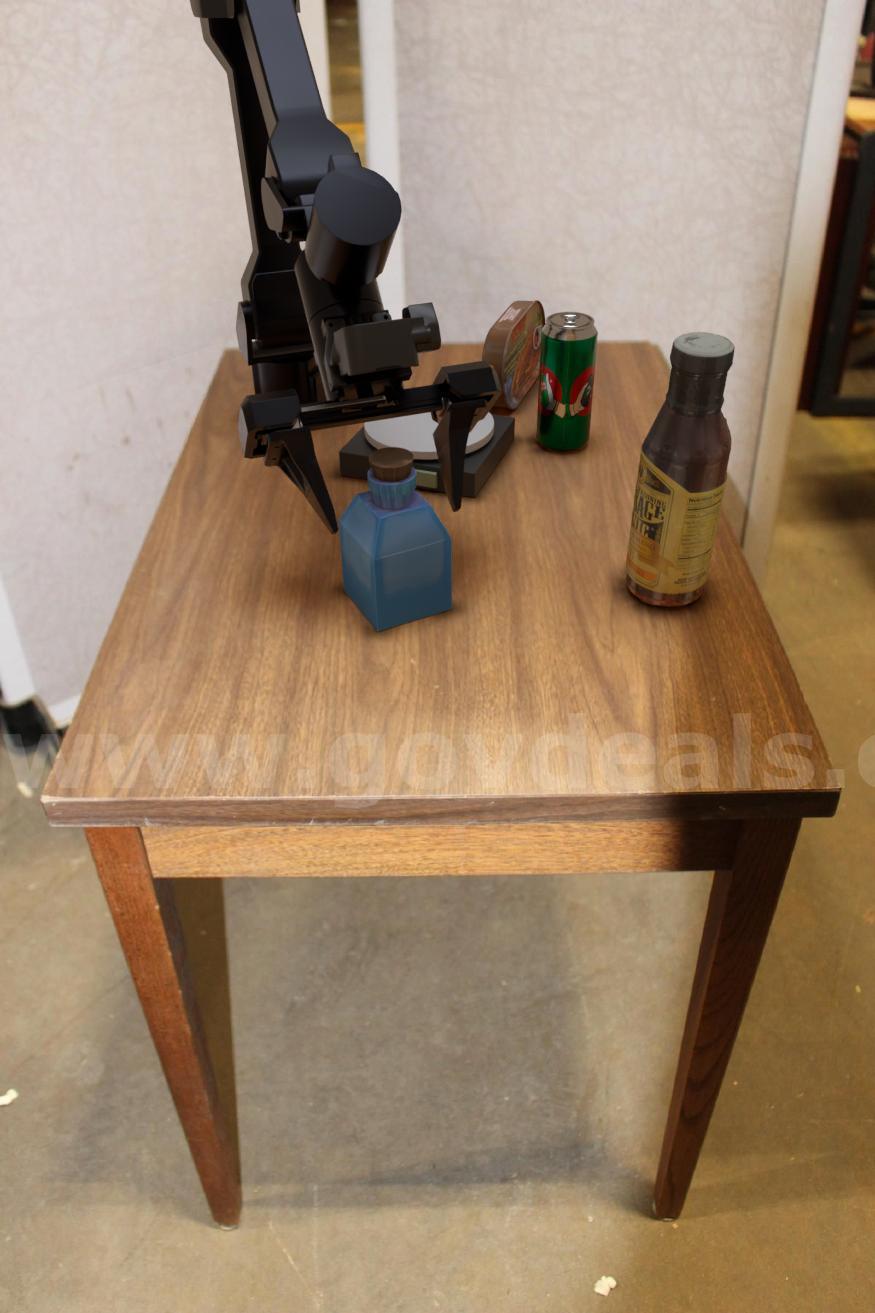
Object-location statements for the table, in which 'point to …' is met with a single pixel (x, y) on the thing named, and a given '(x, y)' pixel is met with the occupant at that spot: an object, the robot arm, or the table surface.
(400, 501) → the perfume bottle
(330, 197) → the robot arm
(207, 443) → the table surface
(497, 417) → the scale
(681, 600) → the sauce bottle
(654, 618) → the table surface
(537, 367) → the tin
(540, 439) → the soda can
